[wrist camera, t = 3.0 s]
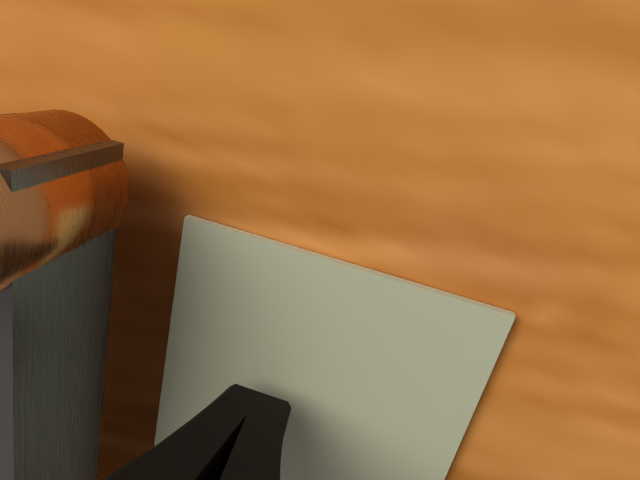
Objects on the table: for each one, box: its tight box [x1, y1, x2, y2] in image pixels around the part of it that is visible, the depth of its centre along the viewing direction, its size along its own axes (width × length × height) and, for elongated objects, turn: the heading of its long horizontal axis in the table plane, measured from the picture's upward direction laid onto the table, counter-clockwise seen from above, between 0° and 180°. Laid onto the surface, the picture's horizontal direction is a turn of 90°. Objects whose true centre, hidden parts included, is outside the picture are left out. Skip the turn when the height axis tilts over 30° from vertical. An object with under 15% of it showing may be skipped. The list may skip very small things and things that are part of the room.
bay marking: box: [154, 215, 515, 480], centre depth 12 cm, size 10×7×1 cm
